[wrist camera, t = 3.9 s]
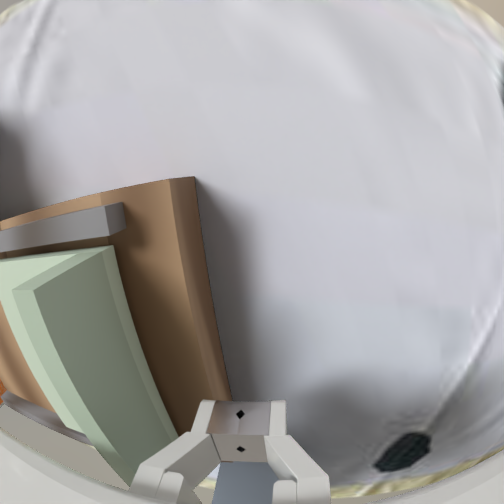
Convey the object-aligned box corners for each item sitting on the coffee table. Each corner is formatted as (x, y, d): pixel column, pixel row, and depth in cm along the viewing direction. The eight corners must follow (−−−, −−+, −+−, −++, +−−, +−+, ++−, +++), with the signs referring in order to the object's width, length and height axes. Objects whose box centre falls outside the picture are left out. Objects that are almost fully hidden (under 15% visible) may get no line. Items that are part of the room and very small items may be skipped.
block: (287, 440, 16) (285, 523, 10) (288, 467, 18) (286, 537, 11) (225, 440, 17) (208, 519, 10) (234, 467, 18) (222, 534, 11)
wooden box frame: (194, 176, 12) (154, 180, 8) (239, 428, 16) (230, 477, 12) (-28, 232, 14) (-61, 245, 10) (29, 385, 19) (8, 408, 15)
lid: (113, 244, 9) (32, 290, 5) (184, 447, 13) (164, 506, 9) (-2, 259, 10) (-56, 286, 6) (71, 419, 14) (43, 458, 10)
